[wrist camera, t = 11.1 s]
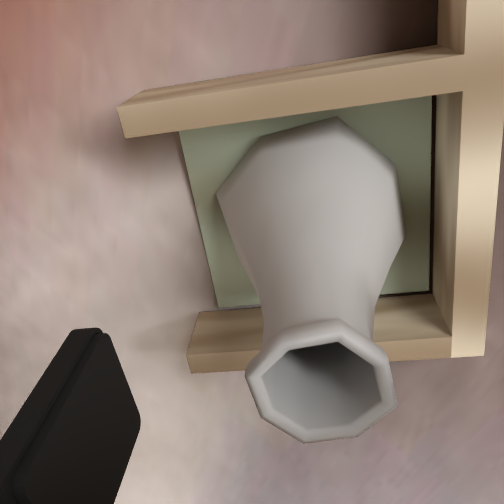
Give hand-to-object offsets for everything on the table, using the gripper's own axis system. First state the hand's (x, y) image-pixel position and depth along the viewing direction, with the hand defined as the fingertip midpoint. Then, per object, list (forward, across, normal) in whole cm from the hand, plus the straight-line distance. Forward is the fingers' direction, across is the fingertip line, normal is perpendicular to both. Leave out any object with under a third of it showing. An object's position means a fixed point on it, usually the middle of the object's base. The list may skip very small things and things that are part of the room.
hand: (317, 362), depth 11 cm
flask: (+10, 0, +1) cm, 10 cm away
